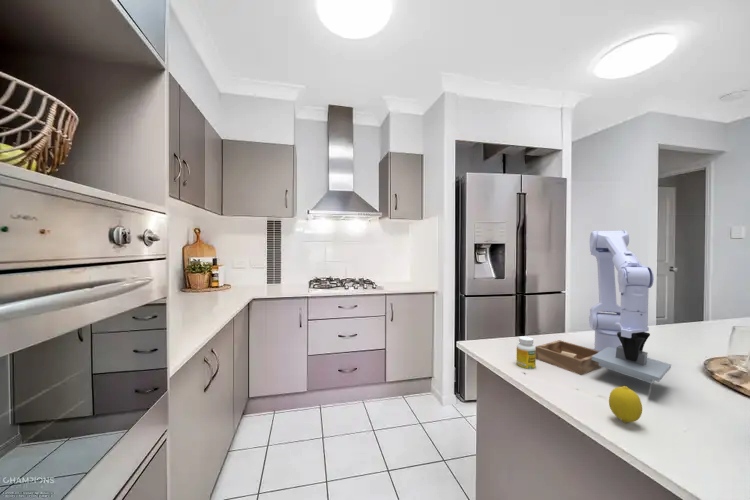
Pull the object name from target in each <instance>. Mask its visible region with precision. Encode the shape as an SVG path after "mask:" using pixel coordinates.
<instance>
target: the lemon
mask: <svg viewBox="0 0 750 500" xmlns="http://www.w3.org/2000/svg"><path fill="white" fill-rule="evenodd" d="M608 404H609V405H608V406H609V408H610V411H611V412H612V414H613V415H614V416H615V417H616V418H618V420H621V422H622V423H624V424H628V423H632V422H637V421H638V420H639V419H640V418H641V417H642V414H643V405H642V401H641V398H640V397H639V395H638V393H636V392H635V391H634V390H633V389H631V388H629V387H628V386H626V385H623V386H618V387H615V388H613V389H612V390H611V392H609V397H608Z"/></svg>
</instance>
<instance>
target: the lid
mask: <svg viewBox="0 0 750 500" xmlns="http://www.w3.org/2000/svg"><path fill="white" fill-rule="evenodd" d="M591 360H593V361H597V362H599V366H601V368H604V369H607V370H610V371H613V372H616V373H619V374H622V375H626V376H628V377H631V378H634V379H637V380H641V381H643V382H646V383H649V384H654V383H655V381H656V382H660V381H661V380H662V379H663V377H665V376H666V374H667V373H668V372H669V371H670V370H671V368H672V364H671V363H667V362H664V361H660V360H656V359H653V358H651V357H648V352H647V351H643V350H642V351H640V350H639V354H638V358H637V360H636V362H635V361H631V360H627V359H626V358H625V354H624V350H623V346H621V345H619V346H618V347H617V348H616V349H615V348H612V347H607V348H605V349H603V350H602V351H600V352H598V353H597V354H595V355H593V356H592V358H591Z"/></svg>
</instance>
